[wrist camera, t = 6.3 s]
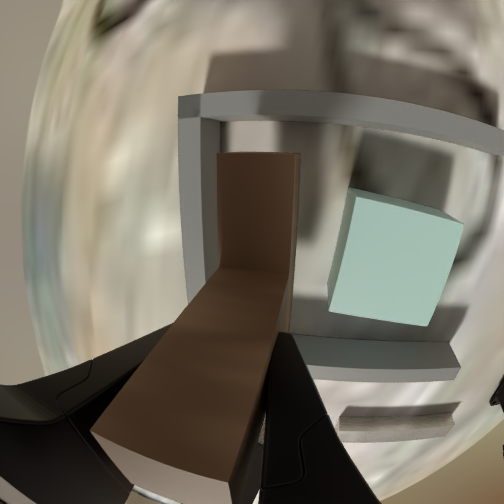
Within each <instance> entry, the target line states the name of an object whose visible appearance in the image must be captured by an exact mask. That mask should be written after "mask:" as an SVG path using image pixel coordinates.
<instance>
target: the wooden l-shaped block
mask: <svg viewBox="0 0 504 504" xmlns="http://www.w3.org/2000/svg"><path fill="white" fill-rule="evenodd" d="M216 157H217V222H218V254H219V267H218V269H217V270H216V271H215V272H214V274H213V275H212V276H211V277H210V278H209V280H208V281H207V282H206V283H205V285H204V286H203V287H202V288H201V289H200V291H199V292H198V293H197V294H196V296H195V297H194V298H193V299H192V301H191V302H190V303H189V304H188V306H187V307H186V308H185V309H184V311H183V312H182V313H181V314H180V315H179V317H178V318H177V319H176V320H175V322H174V323H173V324H172V325H171V327H170V328H169V329H168V330H167V332H166V333H165V334H164V335H163V337H162V338H161V339H160V341H159V342H158V343H157V344H156V346H155V347H154V348H153V349H152V351H151V352H150V353H149V354H148V356H147V357H146V358H145V359H144V361H143V362H142V363H141V365H140V366H139V367H138V368H137V370H136V371H135V372H134V373H133V375H132V376H131V377H130V379H129V380H128V381H127V382H126V384H125V385H124V386H123V388H122V389H121V390H120V391H119V393H118V394H117V395H116V397H115V398H114V399H113V401H112V402H111V403H110V404H109V406H108V407H107V408H106V410H105V411H104V412H103V414H102V415H101V416H100V417H99V419H98V420H97V421H96V423H95V424H94V425H93V427H92V428H91V429H90V431H91V433H92V434H93V436H94V437H95V439H96V440H97V441H98V443H99V444H100V445H101V447H102V448H103V449H104V451H105V452H106V453H107V455H108V456H109V457H110V459H111V460H112V461H113V462H114V463H115V465H116V466H117V467H118V468H119V470H120V471H121V472H122V473H123V474H124V475H125V477H126V478H127V479H128V480H129V481H130V482H131V483H132V484H134V485H136V486H138V487H141V488H143V489H145V490H148V491H150V492H152V493H155V494H158V495H160V496H163V497H165V498H168V499H171V500H174V501H176V502H179V503H182V504H239V503H240V500H241V497H242V494H243V491H244V488H245V484H246V481H247V478H248V474H249V471H250V468H251V464H252V461H253V457H254V454H255V450H256V447H257V443H258V439H259V436H260V432H261V428H262V425H263V421H264V417H265V413H266V406H267V392H268V378H269V363H270V359H271V355H272V352H273V349H274V345H275V342H276V339H277V336H278V333H279V332H289V328H290V318H291V307H292V295H293V283H294V270H295V256H296V241H297V224H298V205H299V182H300V153H279V152H228V153H216Z"/></svg>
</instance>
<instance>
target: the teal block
mask: <svg viewBox="0 0 504 504" xmlns="http://www.w3.org/2000/svg"><path fill="white" fill-rule="evenodd" d="M463 228H464V224H463V223H461V222H460V221H458V220H456V219H455V218H453V217H451V216H450V215H448V214H446V213H445V212H443V211H441V210H439V209H435V208H432V207H428V206H424V205H421V204H417V203H413V202H409V201H406V200H402V199H398V198H394V197H389V196H385V195H381V194H377V193H372V192H368V191H363V190H359V189H354V188H349V187H348V191H347V196H346V202H345V207H344V212H343V217H342V222H341V227H340V231H339V236H338V241H337V245H336V249H335V254H334V258H333V262H332V267H331V271H330V275H329V279H328V283H327V286H328V311H330V312H335V313H341V314H347V315H353V316H359V317H365V318H371V319H377V320H384V321H391V322H397V323H404V324H411V325H419V326H426V327H427V326H428V324H429V322H430V319H431V317H432V315H433V313H434V310H435V308H436V306H437V303H438V301H439V298H440V296H441V294H442V291H443V288H444V286H445V283H446V281H447V278H448V275H449V272H450V270H451V267H452V264H453V261H454V258H455V255H456V252H457V248H458V245H459V242H460V238H461V235H462V231H463Z"/></svg>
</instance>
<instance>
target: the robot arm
mask: <svg viewBox="0 0 504 504" xmlns="http://www.w3.org/2000/svg"><path fill="white" fill-rule="evenodd" d="M172 324H173V323H172ZM172 324H170V325H167V326H165V327H163V328H161V329H159V330H157V331H154V332H152V333H150V334H148V335H146V336H143V337H141V338H139V339H137V340H134V341H132V342H130V343H128V344H126V345H123V346H121V347H119V348H116V349H114V350H112V351H110V352H107V353H105V354H103V355H100V356H98V357H96V358H94V359H93V360H89V361H86V362H84V363H82V364H79V365H77V366H74V367H72V368H69V369H67V370H64V371H61V372H58V373H55V374H52V375H49V376H45V377H42V378H39V379H35V380H32V381H29V382H26V383H22V384H18V385H0V504H125V502H126V500H127V498H128V496H129V494H130V493H129V492H131V490H132V488H133V487H134V484H132V483H131V482H130V481H129V480H128V479H127V478H126V477H125V475H124V474H123V473H122V472H121V471H120V470H119V468H118V467H117V466H116V465H115V463H114V462H113V461H112V460H111V459H110V457H109V456H108V455H107V453H106V452H105V451H104V449H103V448H102V447H101V445H100V444H99V443H98V441H97V440H96V439H95V437H94V436H93V434H92V433H91V431H90V429H91V428H92V427H93V425H94V424H95V423H96V421H97V420H98V419H99V417H100V416H101V415H102V414H103V412H104V411H105V410H106V408H107V407H108V406H109V404H110V403H111V402H112V401H113V399H114V398H115V397H116V395H117V394H118V393H119V391H120V390H121V389H122V388H123V386H124V385H125V384H126V382H127V381H128V380H129V379H130V377H131V376H132V375H133V373H134V372H135V371H136V370H137V368H138V367H139V366H140V365H141V363H142V362H143V361H144V359H145V358H146V357H147V356H148V354H149V353H150V352H151V351H152V349H153V348H154V347H155V346H156V344H157V343H158V342H159V341H160V339H161V338H162V337H163V335H164V334H165V333H166V332H167V330H168V329H169V328H170V327H171V325H172ZM489 403H490V405H491V406H494V405H498V404H500V405H501V407H502V410H503V412H504V380H503V382H502V383H501V385H500V387H499V388H498V390H497V391H496V393H495V394H494V396H493V397H492V399H491V400H490V402H489ZM503 451H504V445H503ZM503 456H504V452H503ZM258 504H382V503H381V502H380V501H379V500H378V499H377V497H376V496H375V494H374V493H373V491H372V490H371V488H370V487H369V485H368V484H367V482H366V481H365V479H364V478H363V476H362V475H361V473H360V472H359V470H358V469H357V467H356V465H355V464H354V462H353V461H352V459H351V458H350V456H349V454H348V453H347V451H346V449H345V448H344V446H343V444H342V443H341V441H340V439H339V437H338V435H337V433H336V430H335V428H334V426H333V424H332V422H331V420H330V417H329V415H328V414H327V411H326V408H325V406H324V404H323V402H322V399H321V397H320V395H319V392H318V390H317V388H316V385H315V383H314V381H313V379H312V376H311V374H310V372H309V369H308V367H307V365H306V363H305V360H304V358H303V356H302V353H301V351H300V349H299V347H298V344H297V342H296V340H295V338H294V335H293V334H292V333H289V332H279V333H278V336H277V339H276V342H275V345H274V349H273V352H272V355H271V359H270V363H269V378H268V392H267V406H266V419H265V433H264V445H263V458H262V469H261V480H260V491H259V502H258Z"/></svg>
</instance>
